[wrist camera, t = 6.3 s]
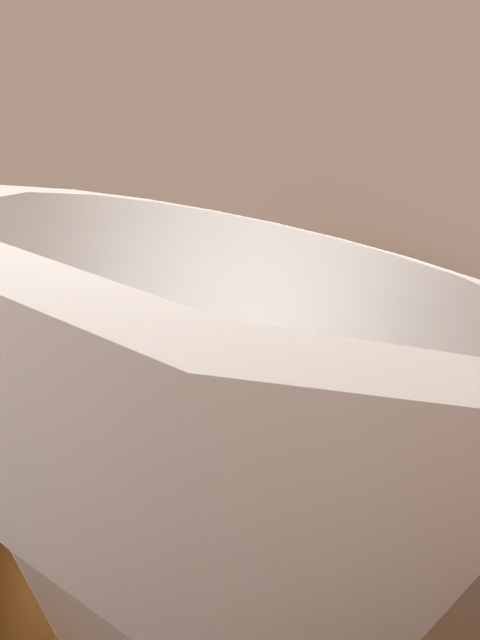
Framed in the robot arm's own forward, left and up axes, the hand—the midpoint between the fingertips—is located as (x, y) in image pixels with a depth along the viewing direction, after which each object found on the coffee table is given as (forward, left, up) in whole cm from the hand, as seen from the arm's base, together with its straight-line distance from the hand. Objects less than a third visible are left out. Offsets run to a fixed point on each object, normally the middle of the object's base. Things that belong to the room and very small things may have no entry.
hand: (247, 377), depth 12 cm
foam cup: (+3, +3, -7) cm, 8 cm away
